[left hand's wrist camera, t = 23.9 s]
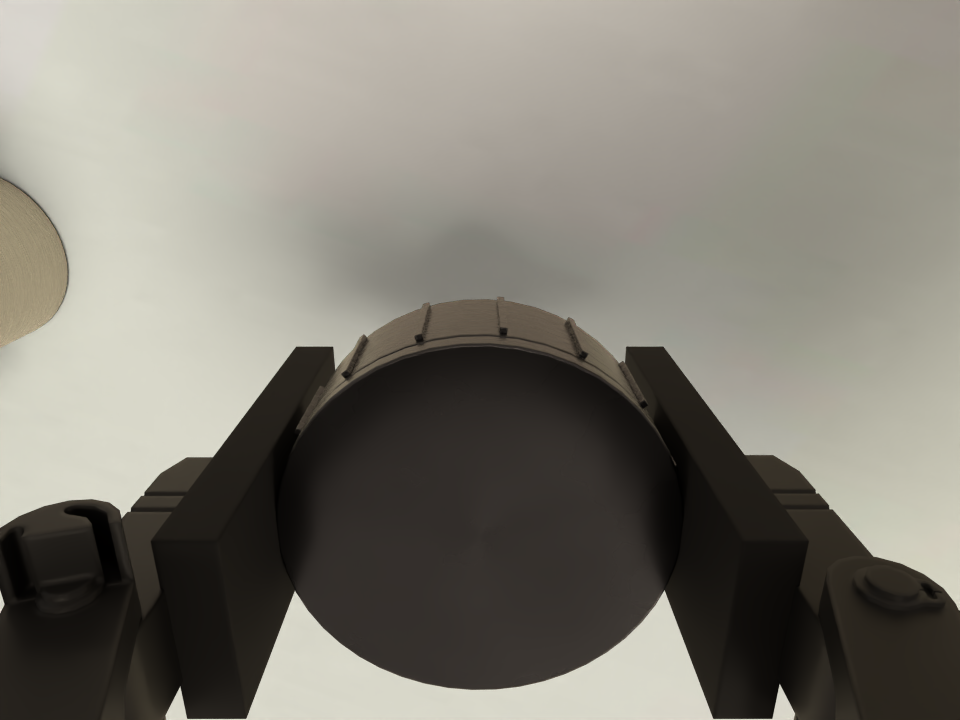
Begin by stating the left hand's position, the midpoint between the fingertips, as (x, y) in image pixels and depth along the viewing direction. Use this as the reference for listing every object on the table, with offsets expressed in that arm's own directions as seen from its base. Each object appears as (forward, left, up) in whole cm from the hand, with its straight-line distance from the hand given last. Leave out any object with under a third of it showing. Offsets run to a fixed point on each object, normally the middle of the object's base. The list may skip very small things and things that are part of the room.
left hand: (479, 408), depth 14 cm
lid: (0, 0, +4) cm, 4 cm away
